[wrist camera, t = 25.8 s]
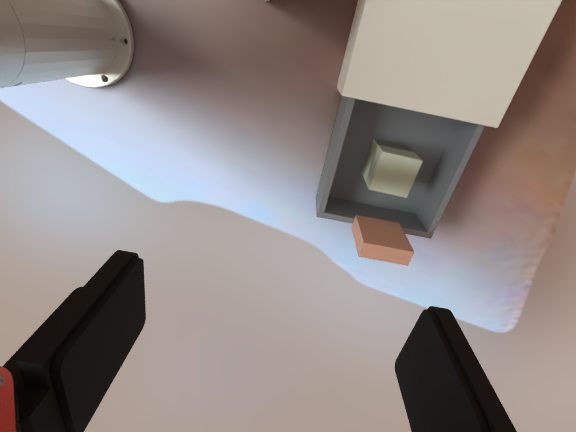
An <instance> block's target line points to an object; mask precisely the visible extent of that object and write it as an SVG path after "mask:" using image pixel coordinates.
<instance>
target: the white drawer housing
mask: <svg viewBox="0 0 576 432" xmlns="http://www.w3.org/2000/svg"><path fill="white" fill-rule="evenodd" d="M561 1H562V0H358V2H357V6H356V10H355V14H354V18H353V22H352V26H351V31H350V35H349V39H348V43H347V47H346V51H345V55H344V59H343V63H342V67H341V71H340V75H339V80H338V84H337V89H338V91H339V92H340V94H341V95H342V96H346V97H351V98H356V99H360V100H365V101H370V102H375V103H379V104H384V105H389V106H394V107H399V108H403V109H408V110H413V111H418V112H423V113H427V114H432V115H437V116H442V117H447V118H451V119H456V120H461V121H466V122H470V123H475V124H480V125H485V126H490V127H494V128H498V126H499V124H500V122H501V120H502V118H503V116H504V114H505V112H506V110H507V108H508V106H509V104H510V102H511V100H512V98H513V96H514V94H515V92H516V90H517V88H518V86H519V84H520V82H521V81H522V79H523V77H524V75H525V73H526V71H527V69H528V67H529V65H530V63H531V61H532V59H533V57H534V55H535V53H536V51H537V49H538V47H539V45H540V43H541V41H542V39H543V37H544V35H545V33H546V31H547V29H548V27H549V25H550V23H551V21H552V19H553V17H554V15H555V13H556V11H557V9H558V7H559V5H560V3H561Z"/></svg>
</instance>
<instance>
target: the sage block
mask: <svg viewBox="0 0 576 432" xmlns="http://www.w3.org/2000/svg"><path fill="white" fill-rule="evenodd" d="M422 162H423V161H422V160H421V159H420V158H419V157H418V156H417V155H416V153H415V152H414V151H413V150H412V149H411V148H410V147H408V146H404V145H400V144H395V143H391V142H387V141H383V140H378V139H374V138H373V141H372V144H371V147H370V149H369V152H368V155H367V158H366V161H365V164H364V167H363V169H362V172H361V173H362V175H363V177H364V180H365V182H366V184H367V187H368V189H369V190H374V191H378V192H383V193H387V194H392V195H396V196H400V197H405V198H407V196H408V193H409V191H410V189H411V187H412V184H413V182H414V180H415V178H416V175H417V173H418V171H419V169H420V166H421V164H422Z"/></svg>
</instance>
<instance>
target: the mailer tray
mask: <svg viewBox="0 0 576 432" xmlns="http://www.w3.org/2000/svg"><path fill="white" fill-rule="evenodd" d="M484 127H485V125H480V124H475V123H470V122H466V121H461V120H456V119H451V118H447V117H442V116H437V115H432V114H427V113H423V112H418V111H413V110H408V109H403V108H399V107H394V106H389V105H384V104H379V103H375V102H370V101H365V100H360V99H356V98H351V97H346V96H342V97H341V101H340V105H339V109H338V113H337V117H336V121H335V124H334V128H333V132H332V136H331V140H330V144H329V148H328V152H327V156H326V160H325V164H324V167H323V171H322V175H321V179H320V183H319V187H318V191H317V195H316V210H317V217H321V218H327V219H332V220H337V221H342V222H348V223H353V225H352V231H353V235H354V239H355V243H356V247H357V251H358V255H359V257H364V258H370V259H375V260H380V261H386V262H391V263H396V264H402V265H407V266H408V264H409V262H410V260H411V258H412V256H413V254H414V251H413V249H412V247H411V245H410V243H409V241H408V239H407V237H406V235H405V234H410V235H416V236H421V237H426V238H431V237H432V235H433V233H434V231H435V229H436V226H437V224H438V222H439V220H440V218H441V216H442V214H443V212H444V210H445V208H446V206H447V204H448V202H449V200H450V198H451V196H452V193H453V191H454V189H455V187H456V185H457V183H458V181H459V179H460V177H461V175H462V173H463V171H464V169H465V167H466V165H467V162H468V160H469V158H470V156H471V154H472V152H473V150H474V148H475V146H476V144H477V142H478V140H479V138H480V136H481V134H482V131H483V129H484ZM373 138H374V139H378V140H383V141H387V142H391V143H395V144H400V145H404V146H408V147H410V148H411V149H412V150H413V151H414V152H415V153H416V155H417V156H418V157H419V158H420V159H421V160H422V161H423V162H422V164H421V166H420V169H419V171H418V173H417V175H416V178H415V180H414V182H413V184H412V187H411V189H410V191H409V193H408V196H407V198H405V197H400V196H396V195H392V194H387V193H383V192H378V191H374V190H369V189H368V187H367V184H366V182H365V180H364V177H363V175H362V173H361V172H362V169H363V167H364V164H365V161H366V158H367V155H368V152H369V149H370V147H371V144H372V141H373Z"/></svg>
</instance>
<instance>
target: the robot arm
mask: <svg viewBox="0 0 576 432" xmlns="http://www.w3.org/2000/svg"><path fill="white" fill-rule="evenodd" d="M126 39H127V42H128V43H126ZM133 53H134V38H133V32H132V27H131V24H130V21H129V18H128V16H127V14H126V12H125V10H124V8H123V6H122V4H121V3H120V1H119V0H0V88H4V87H11V86H18V85H25V84H31V83H38V82H45V81H52V80H59V79H66V80H68V81H70V82H72V83H74V84H77V85H80V86H84V87H91V88H96V87H104V86H108V85H111V84H113V83H115V82H117V81H118V80H120V79H121V78H122V77H123V76H124V75H125V73H126V72H127V71H128V69H129V67H130V64H131V62H132V58H133ZM107 77H108V79H107ZM144 289H145V288H144V266H143V260H142V259H140V258H139V257H138V254H137V253H133V252H127V251H122V250H117V251H116V252H115V253H114V254H113V255H112V256H111V257H110V258H109V259H108V260H107V262H106V263H105V264H104V265H103V266H102V267H101V268H100V269H99V270H98V272H96V274H95V275H94V276H93V277H92V278H91V279H90V280H89V281H88V282H87V283H86V285H85V286H84V287H79V288H77V289H75V290H74V291H73V292H72V293H71V294H70V295H69V297H67V298H66V299H65V301H64V302H63V303H62V304H61V305H60V306H59V307H58V308H57V309H56V310H55V311H54V312H53V313H52V314H51V315H50V316H49V318H48V319H47V320H46V321H45V322H44V323H43V324H42V325H41V326H40V327H39V328H38V330H36V331H35V332H34V334H33V335H32V336H31V337H30V338H29V339H28V340H27V341H26V342H25V343H24V344H23V345H22V346H21V348H19V350H18V351H17V352H16V353H15V354H14V355H13V356H12V357H11V358H10V359H9V360H8V361H7V362H6V363H5V365H4V366H3V367H1V366H0V432H84V430H85V428H86V427H87V425H88V423H89V422H90V420H91V418H92V416H93V414H94V413H95V411H96V409H97V408H98V406H99V404H100V402H101V401H102V399H103V397H104V395H105V394H106V392H107V390H108V388H109V387H110V384H111V383H112V381H113V379H114V378H115V376H116V374H117V372H118V371H119V369H120V367H121V366H122V364H123V362H124V360H125V359H126V357H127V355H128V353H129V352H130V350H131V348H132V346H133V345H134V343H135V341H136V339H137V337H138V336H139V334H140V332H141V330H142V329H143V326H144V324H145V319H146V313H145V291H144ZM395 372H396V376H397V379H398V383H399V386H400V390H401V394H402V398H403V401H404V405H405V409H406V412H407V416H408V419H409V423H410V427H411V431H412V432H517V431H516V430H515V428H514V426H513V424H512V422H511V420H510V419H509V417H508V415H507V413H506V411H505V409H504V407H503V406H502V404H501V402H500V400H499V398H498V397H497V395H496V393H495V391H494V389H493V387H492V385H491V384H490V382H489V380H488V379H487V376H486V374H485V373H484V371H483V369H482V367H481V365H480V364H479V362H478V360H477V358H476V356H475V355H474V352H473V351H472V349H471V347H470V345H469V343H468V341H467V339H466V338H465V336H464V334H463V332H462V330H461V328H460V327H459V325H458V323H457V321H456V319H455V317H454V315H453V314H452V312H451V311H450V310H449V309H445V308H439V307H434V306H430V307H429V308H428V309H427V310H423V312H422V313H421V315H420V317H419V319H418V321H417V322H416V324H415V326H414V328H413V330H412V332H411V333H410V335H409V337H408V339H407V341H406V343H405V345H404V346H403V348H402V350H401V352H400V354H399V356H398V357H397V359H396V362H395Z"/></svg>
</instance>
